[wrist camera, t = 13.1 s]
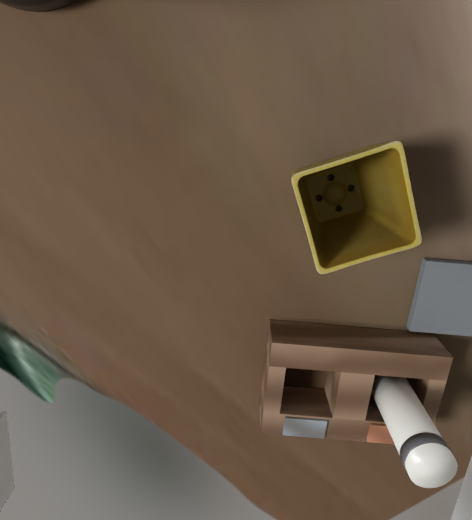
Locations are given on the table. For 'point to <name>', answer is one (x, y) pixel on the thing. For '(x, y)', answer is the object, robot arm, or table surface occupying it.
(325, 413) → the socket block
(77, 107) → the table surface
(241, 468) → the table surface
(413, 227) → the flower pot
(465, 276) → the mat
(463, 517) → the robot arm
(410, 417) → the plug
